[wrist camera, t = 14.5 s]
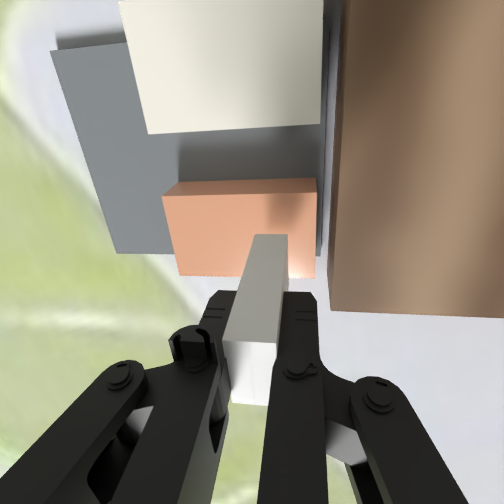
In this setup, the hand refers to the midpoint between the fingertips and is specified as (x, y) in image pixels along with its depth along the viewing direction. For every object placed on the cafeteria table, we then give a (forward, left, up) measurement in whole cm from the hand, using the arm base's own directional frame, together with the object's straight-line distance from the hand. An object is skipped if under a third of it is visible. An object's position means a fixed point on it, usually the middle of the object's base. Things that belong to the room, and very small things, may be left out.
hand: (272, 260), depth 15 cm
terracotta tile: (+2, 0, -5) cm, 5 cm away
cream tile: (+2, -8, -5) cm, 10 cm away
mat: (+5, -3, -5) cm, 8 cm away
